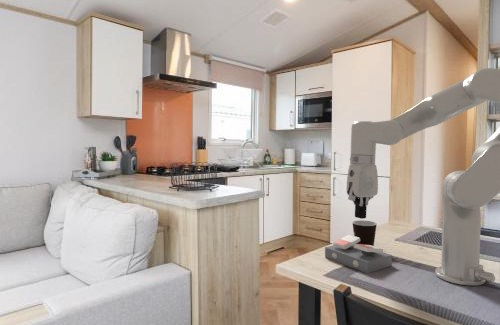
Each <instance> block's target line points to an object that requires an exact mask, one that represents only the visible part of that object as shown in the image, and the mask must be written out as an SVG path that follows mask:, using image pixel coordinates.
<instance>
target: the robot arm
mask: <svg viewBox="0 0 500 325" xmlns="http://www.w3.org/2000/svg"><path fill="white" fill-rule="evenodd" d="M485 102H493V103H497V104H500V68H495V67H494V68H493V67H492V68H491V67H490V68H489V67H488V68H485V67H484V68H481V69H479V70H476V71H475V72H474V73H472V74H471V75H468V76H466V77H465V78H463V79H461V80H459V81H457V82H454V84H452V85H450V86H447V87H446V88H444V89H442V90H440V91H438V92H435V93H434V94H432V95H430V96H428V97H426V98H425V99H423V100H421V101H420V102H418V104H416V105H415V106H413V107H412V108H410V109H408V110H407V111H405V112H403V113H401V114H398V115H397V116H395V117H393V118H391V119H387V120H381V121H370V120H369V121H367V120H362V121H361V120H360V121H359V120H358V121H354V122H353V123H352V124H351V128H350V129H351V132H350V133H351V134H350V156H349V157H350V158H349V161H350V162H349V165H348V172H347V178H346V194H347V200H349V201H352V203H353V205H354V217H355V218H358V219H361V220H363V219H366V218H367V209H368V208H367V206H368V205H369V201H370V200H372V199H374V197H375V196H377V194H378V191H379V179H378V178H379V177H378V167H377V165H376V149H377V148H376V147H377V144H380V145H381V144H382V145H386V146H394V145H397V144H398V143H400V142H401V141H403V140H404V139H405V138H408V137H410V136H413V135H415V134H416V133H418V132H421V131H423V130H425V129H428V128H431V127H436V126H438V125H440V124H442V123H445V122H446V121H448V120H451V119H452V118H454V117H457V116H459V115H462V114H463V113H465V112H467V111H469V110H471V109H473V108H475V107H478V106H479V105H482V104H483V103H485ZM499 194H500V126H499V127H498V128H497V129H496V130H495V131H494V132H493V133H492V134H491V135H490V136H489V137H488V138H487V139H486V140H485V141H484V142H483V143H482V144H481V145H479V147H477V148H476V150H474V152H473V153H472V156H471V164H470V165H469V167H467V169H465V170H455V171H452V172H450V173H449V174H447V175H446V176H445V178H444V179H443V181H442V184H441V202H442V223H441V224H442V226H441V227H442V228H441V258H440V260H441V262H440V264H441V266H438V267H436V268H435V273H434V274H435V275H436V276H437V277H438V278H439V279H441V280H443V281H446V282H449V283H452V284H457V285H461V286H470V287H471V286H481V285H484V284H486V282H489V283H495V280H496V276H495V274H494V273H493V272H489V271H485V269H484V265H483V264H480V255H481V254H480V252H481V228H482V217H481V216H482V214H481V208H482V207H484V206H485V205H487V204H489V203H491V201H492V200H493V199H495V197H497V196H498V195H499Z"/></svg>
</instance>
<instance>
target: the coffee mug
mask: <svg viewBox="0 0 500 325" xmlns="http://www.w3.org/2000/svg"><path fill="white" fill-rule="evenodd" d="M377 226H378V225H377V222H376V221H370V220H365V219H364V220H363V219H361V220H360V219H359V220H353V221H352V228H353V229H352V230H353V236H355V237H359V238H360V241H359V242H358V243H356V244H363V245H372V246H374V245H375V238H376V232H377Z"/></svg>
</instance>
